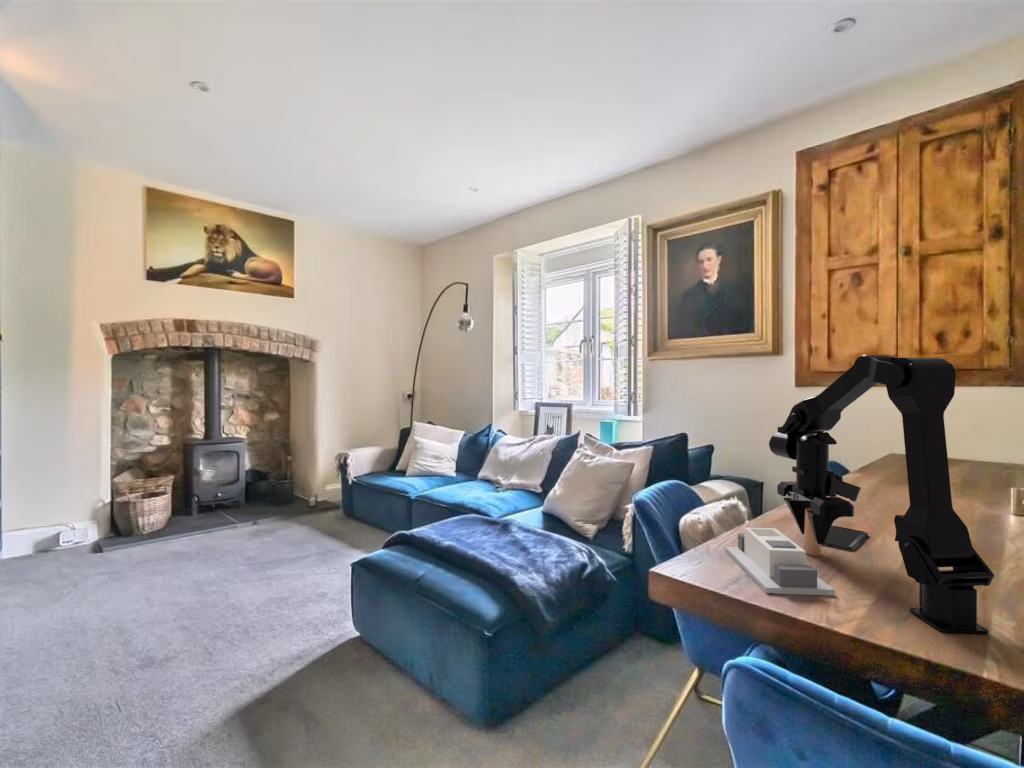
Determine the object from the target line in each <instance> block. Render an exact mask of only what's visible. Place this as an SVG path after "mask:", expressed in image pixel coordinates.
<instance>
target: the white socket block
mask: <svg viewBox="0 0 1024 768" xmlns="http://www.w3.org/2000/svg"><path fill="white" fill-rule="evenodd" d="M743 529H744V530H743V531H744V552H745V553H746V554H747V555H748V556H749V557H750V558H751V559H752V560H753V561H754V562H755V563H756V565H757V566H758V567H759V568H760V569H761V570H762V571H763V572H764V573H765V574H766V575H767V576H768V577H769V578H775V565H804V566H807V554H806V551H805V550H804V548H802V547H801V546H799V545H798V544H797V543H795V542H794V541H793V540H791V539H790V538H789V537H787V536H786V535H785V534H784V533H782V532H781V531H779V530H778V529H777V528H773V527H772V528H770V527H768V528H767V527H766V528H765V527H743Z"/></svg>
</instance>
